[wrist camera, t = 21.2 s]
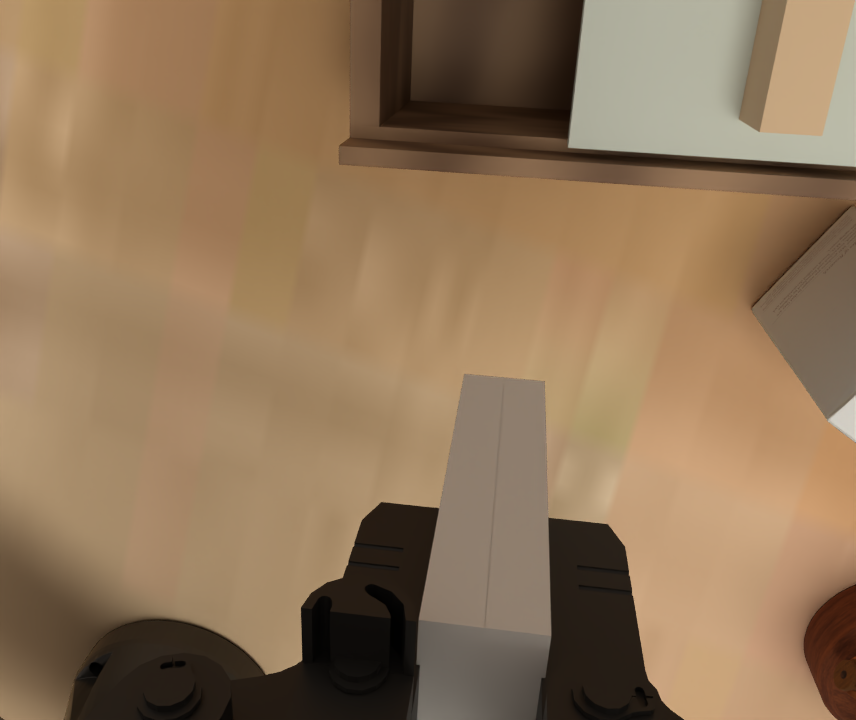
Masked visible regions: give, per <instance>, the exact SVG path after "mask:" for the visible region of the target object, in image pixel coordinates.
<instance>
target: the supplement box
mask: <svg viewBox="0 0 856 720" xmlns="http://www.w3.org/2000/svg"><path fill="white" fill-rule="evenodd" d="M752 312H753V314H754V315H755V317H756V318H757V320H758V321H759V323H760V324H761V326H762V327H763V328H764V330H765V331H766V333H767V334H768V335H769V337H770V338H771V340H772V341H773V343H774V344H775V346H776V347H777V348H778V350H779V351H780V353H781V354H782V356H783V357H784V359H785V360H786V361H787V363H788V364H789V365H790V367H791V368H792V370H793V371H794V373H795V374H796V375H797V377H798V378H799V380H800V381H801V383H802V384H803V385H804V387H805V388H806V390H807V391H808V393H809V394H810V396H811V397H812V399H813V400H814V401H815V403H816V404H817V406H818V407H819V409H820V410H821V412H822V413H823V414H824V416H825V418H826V419H827V421H828V422H829V423H831V424H832V425H833V426H834V427H836V428H837V429H838V430H839V431H841V432H842V433H843V434H845V435H846V436H847V437H849V438H850V439H851V440H853V441H854V442H855V443H856V207H854V206H852V207H850V208H849V209H848V210H847V211H846V212H845V213H844V214H843V215H842V216H841V217H840V218H839V219H838V220H837V221H836V222H835V223H834V224H833V225H832V226H831V227H830V228H829V229H828V230H827V231H826V232H825V233H824V234H823V235H822V236H821V237H820V238H819V240H818V241H816V242H815V243H814V244H813V245H812V246H811V247H810V248H809V249H808V251H807V252H806V253H805V254H804V255H803V256H802V257H801V258H800V259H799V260H798V261H797V262H796V263H795V264H794V265H793V266H792V267H791V268H790V269H789V270H788V271H787V272H786V273H785V274H784V275H783V276H782V277H781V278H780V279H779V280H778V281H777V282H776V283H775V284H774V285H773V286H772V288H771V289H770V290H769V291H768V292H766V293H765V295H764V296H763V297H762V298H761V299H760V300H759V301H758V302H757V303H756V304H755V305H754V307H753V308H752Z"/></svg>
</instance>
